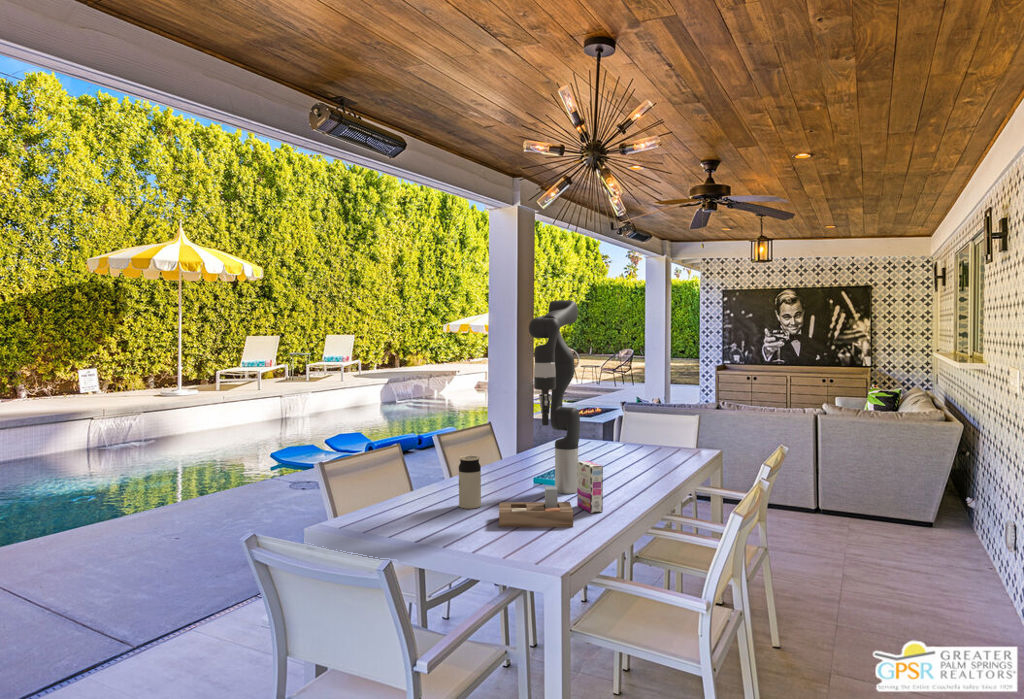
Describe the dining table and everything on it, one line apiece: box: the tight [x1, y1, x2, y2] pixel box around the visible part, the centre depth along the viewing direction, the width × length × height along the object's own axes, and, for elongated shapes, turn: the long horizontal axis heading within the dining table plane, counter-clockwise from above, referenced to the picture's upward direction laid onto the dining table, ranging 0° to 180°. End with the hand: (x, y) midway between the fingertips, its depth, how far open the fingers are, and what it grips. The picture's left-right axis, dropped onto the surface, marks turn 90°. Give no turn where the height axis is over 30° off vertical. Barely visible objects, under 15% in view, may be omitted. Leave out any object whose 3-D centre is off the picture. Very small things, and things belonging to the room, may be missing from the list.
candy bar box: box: [576, 460, 604, 514], centre depth 234 cm, size 11×5×16 cm, turn 21°
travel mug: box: [458, 454, 482, 510], centre depth 239 cm, size 8×8×18 cm
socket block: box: [498, 501, 574, 528], centre depth 219 cm, size 12×24×5 cm, turn 90°
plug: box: [544, 486, 559, 508], centre depth 220 cm, size 4×4×10 cm
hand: (545, 425), depth 229 cm, fingers closed
